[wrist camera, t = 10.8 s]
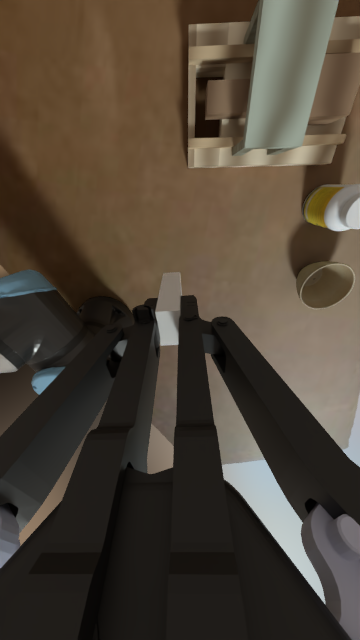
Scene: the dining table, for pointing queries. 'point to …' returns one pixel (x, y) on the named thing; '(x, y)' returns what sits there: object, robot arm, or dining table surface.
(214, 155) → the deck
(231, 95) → the tan wooden bar
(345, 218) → the pill bottle
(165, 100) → the dining table surface
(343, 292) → the flower pot
